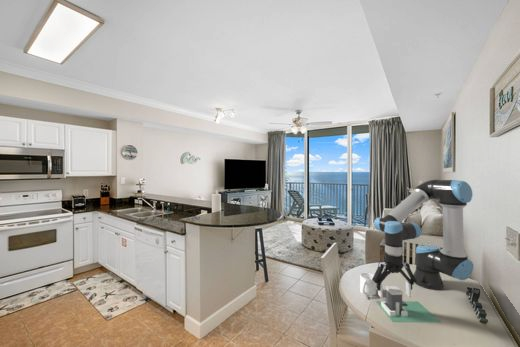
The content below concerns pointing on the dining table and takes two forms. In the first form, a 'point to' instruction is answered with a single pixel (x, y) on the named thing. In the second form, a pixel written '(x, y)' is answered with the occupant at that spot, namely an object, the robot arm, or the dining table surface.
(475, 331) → the dining table surface
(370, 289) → the mug
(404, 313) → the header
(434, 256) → the robot arm
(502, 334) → the dining table surface
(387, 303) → the plug
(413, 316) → the board
